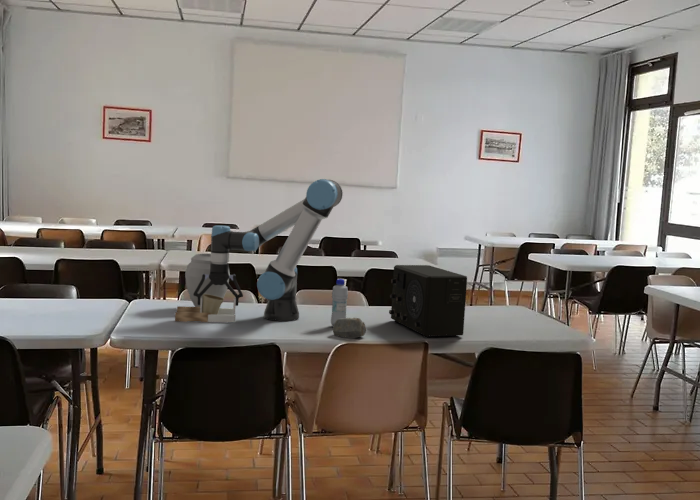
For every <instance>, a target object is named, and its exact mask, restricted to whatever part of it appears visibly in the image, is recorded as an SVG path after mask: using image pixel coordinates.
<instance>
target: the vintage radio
mask: <svg viewBox="0 0 700 500" xmlns="http://www.w3.org/2000/svg"><path fill="white" fill-rule="evenodd" d="M392 275H393V276H392V278H391V279H390V284H392V291H391V292H392V293H390V294H389V298H390V299H391V308H390V309H389V310H388V313H389V315H390V319H392V320H393V321H394V322H395V324H396V323H398V324H401V325H404V326H405V327H407V328H409V329H411V330H413V331H414V332H417V333H419V334H421V335H423V338H426V339H427V338H428V339H429V338H431V337H449V336H450V337H453V338H455V337H456V338H457V337H458V336H464V327H465V313H466V300H467V285H468V276H467V275H463V274H460V273H457V272H453V271H449V270H447V269H443V268H440V267H436V266H433V265H428V264H425V265H424V264H422V265H421V264H395V265H394V266H393V273H392Z"/></svg>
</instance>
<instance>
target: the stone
mask: <svg viewBox="0 0 700 500" xmlns="http://www.w3.org/2000/svg"><path fill="white" fill-rule="evenodd" d="M332 328H333V329H332V333H333V334H334V336H337V337H340V338H347V339H356V338H360V337H364V336H365V335H366V332H367V327H366V323H365V322H364V321H362V319H361V318H360V317H346V318H342V319H337V320H336V322H335V324H334V327H332Z"/></svg>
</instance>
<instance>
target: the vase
mask: <svg viewBox="0 0 700 500" xmlns="http://www.w3.org/2000/svg"><path fill="white" fill-rule="evenodd" d="M211 263H212V262H211V253H196V254H194V255H193V256H192V257H191V258H190V262H189V263H188V264H187V265H186V269H185V274H184V275H185V276H184V277H185V283H186V288H187V292H188V294H189V295H188V296H189V299H190V300H191V302H192V303H193V307H200V305H198V297H196V296H194V295H193V294H194V292H195V290H196V288H197V286H198V285H199V283H200V281H201V279H202V275H203V274H207V275H209V274H210V264H211ZM230 273H231V272H230V269H229V270H228V274H229V275H231V274H230ZM210 281H211V280H210V279H209V277H208V278H207V279H205V280H204V282H203V284H202V286H201V288H200V289H199V291H198V294H199V293H200V292H201V291H202V290H203V289H204V288H205V287H206V286H207V285H208V283H209V282H210ZM227 282H228V283H229V282H230V278H229V279H228V280H227ZM229 284H230V283H229ZM227 290H228V288H227V286H226V285H225V284H224V285H214V284H212V285H211V286H210V287H209V289H208V290H207V291H206V292H205V293H204V294H209V295H214V296H218V297H221V298H223V299H225V295H226V293H227V292H228V291H227ZM201 297H202V298H203V296H201ZM202 303H203V299H202Z"/></svg>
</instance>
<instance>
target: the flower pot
mask: <svg viewBox="0 0 700 500" xmlns="http://www.w3.org/2000/svg"><path fill="white" fill-rule="evenodd" d="M202 296H203V298H202V299H203V303H202V313H211V314H218V311H219V309H220V308H221V306H222V304H223V302H224V301H225V298H221V297H218V296H214V295H209V294H203V295H202Z"/></svg>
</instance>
